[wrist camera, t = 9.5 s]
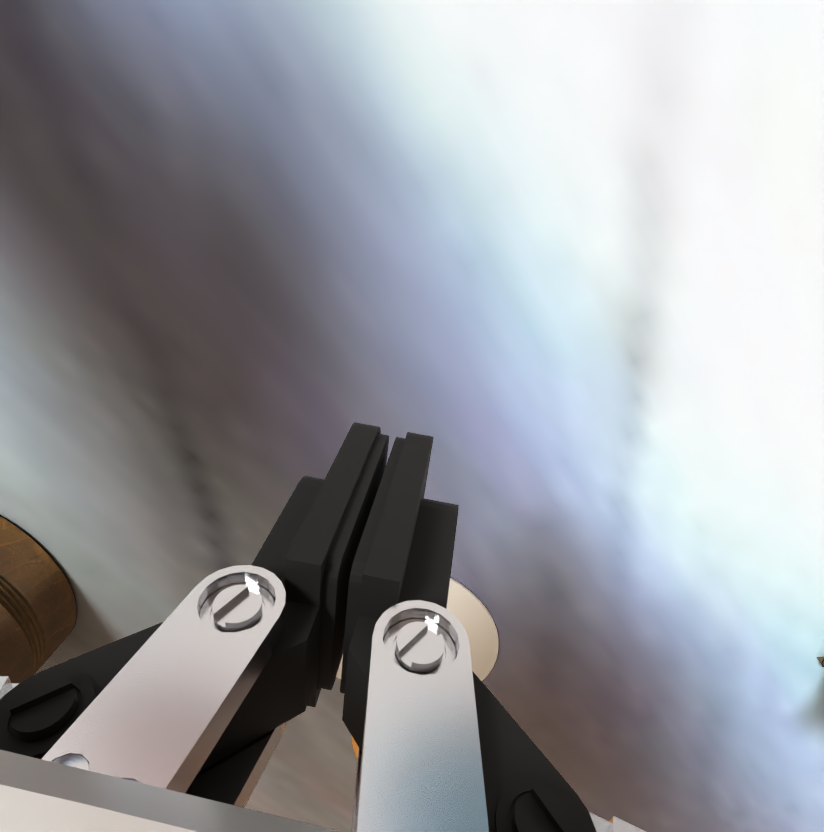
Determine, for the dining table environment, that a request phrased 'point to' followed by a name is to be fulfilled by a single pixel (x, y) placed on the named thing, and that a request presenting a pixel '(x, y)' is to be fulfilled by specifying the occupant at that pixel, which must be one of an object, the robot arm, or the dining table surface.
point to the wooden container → (30, 604)
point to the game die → (821, 661)
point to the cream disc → (471, 628)
